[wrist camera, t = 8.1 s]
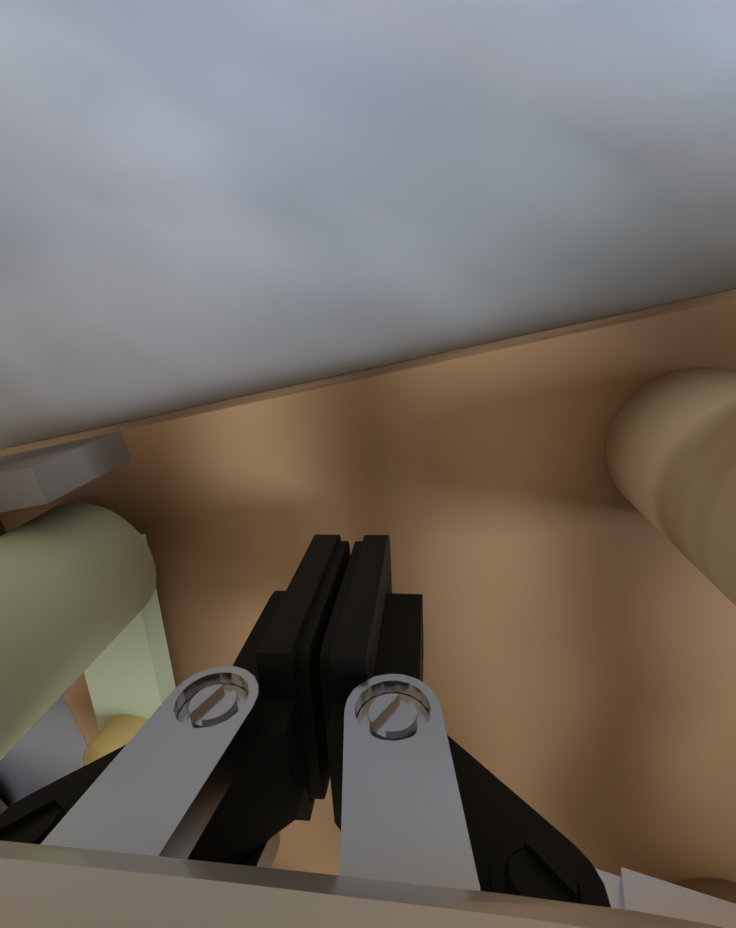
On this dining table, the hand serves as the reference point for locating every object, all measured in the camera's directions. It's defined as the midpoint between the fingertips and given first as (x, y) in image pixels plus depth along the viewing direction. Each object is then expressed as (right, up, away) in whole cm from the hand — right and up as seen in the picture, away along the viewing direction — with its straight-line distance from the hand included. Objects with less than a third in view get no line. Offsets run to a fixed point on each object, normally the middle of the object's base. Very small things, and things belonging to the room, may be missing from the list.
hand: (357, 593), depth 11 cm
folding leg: (-7, -2, +3) cm, 8 cm away
